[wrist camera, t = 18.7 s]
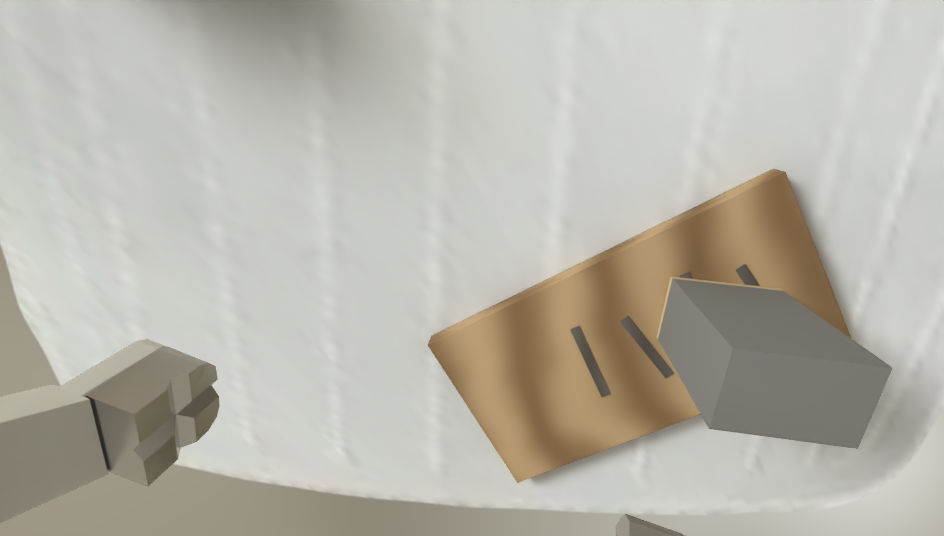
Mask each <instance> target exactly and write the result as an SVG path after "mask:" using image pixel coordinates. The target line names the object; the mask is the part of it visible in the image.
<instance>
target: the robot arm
mask: <svg viewBox="0 0 944 536" xmlns="http://www.w3.org/2000/svg"><path fill="white" fill-rule="evenodd" d="M216 380H217V373H216V366H214V365H212V364H210V363H207V362H205V361H202V360H200V359H197V358H195V357H192V356H190V355H187V354H185V353H182V352H180V351H177V350H175V349H172V348H170V347H167V346H164V345H161V344H159V343H156V342H154V341H151V340H148V339H146V340H140V341H136V342H134V343H133V344H131V345H129V346H127V347H126V348H124V349H122V350H121V351H119V352H117V353H116V354H114V355H112V356H111V357H109V358H107V359H106V360H104V361H102V362H100V363H99V364H97V365H95V366H94V367H92V368H90V369H89V370H87V371H85V372H84V373H82V374H80V375H79V376H77V377H75V378H73V379H72V380H70V381H68V382H67V383H65V384H63V385H62V386H60V387H59V386H56V385H48V386H44V387H40V388H35V389H31V390H27V391H23V392H18V393H14V394H10V395H6V396H2V397H0V523H1V522H4V521H6V520H8V519H10V518H12V517H15V516H17V515H19V514H21V513H23V512H26V511H28V510H30V509H32V508H34V507H37V506H39V505H41V504H43V503H46V502H48V501H50V500H52V499H54V498H57V497H59V496H61V495H63V494H66V493H68V492H70V491H72V490H74V489H77V488H79V487H81V486H83V485H85V484H88V483H90V482H92V481H94V480H97V479H99V478H101V477H103V476H105V475H107V474H108V471H109V472H111V473H114V474H116V475H119V476H122V477H124V478H127V479H130V480H132V481H135V482H137V483H140V484H142V485H145V486H149V485H150V484H151V483H152V482H154V481H155V480H156V479H157V478H158V477H159V476H160V475H161V474H162V473H163V472H164V471H165V470H167V469H168V468H169V467H170V466H171V465H172V464H173V463H174V462H175V461H176V460H177V459H178V456H179V452H180V448H181V447H184V446H186V445H189V444H192V443H195V442H197V441H198V440H199V439H200V438H201V437H202V436H203V435H204V434H205V433H206V432H207V431H208V430H209V428H210V427H211V425H212V423H213V422H214V420H215V419H216V417H217V413H218V409H219V396H218V394H217V393H216V391H215V390H214V388H213V387H212V384H213V383H214V382H215V381H216ZM616 536H684V535H683V534H681V533H678V532H676V531H673V530H670V529H667V528H664V527H661V526H658V525H656V524H652V523H650V522H647V521H644V520H641V519H638V518H636V517H633V516H630V515H627V514H624V515H623V516H622V517H621V518H620V520H619V522H618V523H617V525H616Z"/></svg>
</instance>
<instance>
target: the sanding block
mask: <svg viewBox="0 0 944 536" xmlns="http://www.w3.org/2000/svg"><path fill="white" fill-rule="evenodd" d="M656 337H657V339H658V340H659V342H660V344H661V346H662V347H663V349H664V351H665V353H666V354H667V356H668V358H669V360H670V361H671V363H672V365H673V367H674V368H675V370H676V372H677V374H678V375H679V377H680V379H681V380H682V382H683V384H684V386H685V387H686V389H687V391H688V393H689V394H690V396H691V398H692V400H693V401H694V403H695V405H696V407H697V408H698V410H699V412H700V414H701V415H702V417H703V419H704V421H705V422H706V424H707V426H708V427H709V429H715V430H722V431H730V432H737V433H744V434H752V435H759V436H767V437H774V438H782V439H789V440H797V441H804V442H812V443H819V444H827V445H834V446H842V447H849V448H856V449H858V447H859V444H860V442H861V440H862V437H863V435H864V433H865V430H866V428H867V426H868V423H869V421H870V419H871V416H872V414H873V412H874V409H875V407H876V405H877V403H878V400H879V398H880V396H881V393H882V391H883V389H884V386H885V384H886V382H887V379H888V377H889V375H890V372H891V370H892V367H890V366H889V365H888V364H886V363H885V362H883V361H882V360H880V359H879V358H878V357H876V356H875V355H873V354H872V353H871V352H869V351H868V350H866V349H865V348H863V347H862V346H861V345H859V344H858V343H856V342H855V341H854V340H852V339H851V338H849V337H848V336H846V335H845V334H844V333H842V332H841V331H839V330H838V329H837V328H835V327H834V326H832V325H831V324H829V323H828V322H827V321H825V320H824V319H822V318H821V317H819V316H818V315H817V314H815V313H814V312H812V311H811V310H810V309H808V308H807V307H805V306H804V305H802V304H801V303H800V302H798V301H797V300H795V299H794V298H793V297H791V296H790V295H788V294H787V293H785V292H784V291H783V290H781V289H779V288H770V287H761V286H752V285H743V284H734V283H725V282H716V281H707V280H698V279H689V278H680V277H670V281H669V285H668V290H667V294H666V298H665V302H664V307H663V311H662V315H661V319H660V324H659V328H658V332H657V336H656Z"/></svg>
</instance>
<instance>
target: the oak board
mask: <svg viewBox="0 0 944 536" xmlns="http://www.w3.org/2000/svg"><path fill="white" fill-rule="evenodd" d="M670 277H680V278H689V279H698V280H707V281H716V282H725V283H734V284H743V285H752V286H761V287H770V288H779V289H781V290H783V291H784V292H785V293H787V294H788V295H790V296H791V297H793V298H794V299H795V300H797V301H798V302H800V303H801V304H802V305H804V306H805V307H807V308H808V309H810V310H811V311H812V312H814V313H815V314H817V315H818V316H819V317H821V318H822V319H824V320H825V321H827V322H828V323H829V324H831V325H832V326H834V327H835V328H837V329H838V330H839V331H841V332H842V333H844V334H845V335H846V336H848V337H849V338H851V337H850V334H849V332H848V329H847V327H846V324H845V322H844V319H843V316H842V314H841V311H840V309H839V306H838V304H837V301H836V299H835V296H834V294H833V291H832V289H831V286H830V284H829V281H828V278H827V276H826V273H825V271H824V268H823V266H822V263H821V261H820V258H819V256H818V253H817V251H816V248H815V246H814V243H813V240H812V238H811V235H810V233H809V230H808V228H807V225H806V223H805V220H804V218H803V215H802V213H801V210H800V208H799V205H798V202H797V200H796V197H795V195H794V192H793V190H792V187H791V185H790V182H789V180H788V177H787V175H786V172H783V171H779V170H775V169H772V170H770V171H768V172H766V173H764V174H762V175H760V176H758V177H756V178H754V179H752V180H750V181H748V182H746V183H744V184H742V185H739V186H737V187H735V188H733V189H731V190H729V191H727V192H725V193H723V194H721V195H719V196H717V197H715V198H713V199H711V200H709V201H707V202H705V203H703V204H701V205H699V206H697V207H694V208H692V209H690V210H688V211H686V212H684V213H682V214H680V215H678V216H676V217H674V218H672V219H670V220H668V221H666V222H664V223H662V224H660V225H658V226H656V227H654V228H652V229H650V230H647V231H645V232H643V233H641V234H639V235H637V236H635V237H633V238H631V239H629V240H627V241H625V242H623V243H621V244H619V245H617V246H615V247H613V248H611V249H609V250H607V251H605V252H602V253H600V254H598V255H596V256H594V257H592V258H590V259H588V260H586V261H584V262H582V263H580V264H578V265H576V266H574V267H572V268H570V269H568V270H566V271H564V272H562V273H560V274H557V275H555V276H553V277H551V278H549V279H547V280H545V281H543V282H541V283H539V284H537V285H535V286H533V287H531V288H529V289H527V290H525V291H523V292H521V293H519V294H517V295H515V296H513V297H510V298H508V299H506V300H504V301H502V302H500V303H498V304H496V305H494V306H492V307H490V308H488V309H486V310H484V311H482V312H480V313H478V314H476V315H474V316H472V317H470V318H468V319H465V320H463V321H461V322H459V323H457V324H455V325H453V326H451V327H449V328H447V329H445V330H443V331H441V332H439V333H437V334H435V335H433V336H431V339H430V341H429V344H428V346H429V348H430V349H431V351H432V352H433V354H434V355H435V357H436V359H437V360H438V362H439V363H440V365H441V366H442V368H443V369H444V371H445V372H446V374H447V375H448V377H449V378H450V380H451V382H452V383H453V385H454V386H455V388H456V389H457V391H458V392H459V394H460V395H461V397H462V398H463V400H464V401H465V403H466V405H467V406H468V408H469V409H470V411H471V412H472V414H473V415H474V417H475V418H476V420H477V421H478V423H479V424H480V426H481V428H482V429H483V431H484V432H485V434H486V435H487V437H488V438H489V440H490V441H491V443H492V444H493V446H494V447H495V449H496V451H497V452H498V454H499V455H500V457H501V458H502V460H503V461H504V463H505V464H506V466H507V467H508V469H509V470H510V472H511V474H512V475H513V477H514V478H515V480H516V481H517V483H518V482H521V481H523V480H526V479H529V478H531V477H534V476H537V475H539V474H542V473H545V472H547V471H550V470H553V469H555V468H558V467H561V466H563V465H566V464H569V463H571V462H574V461H577V460H579V459H582V458H585V457H587V456H590V455H593V454H595V453H598V452H601V451H603V450H606V449H609V448H611V447H614V446H617V445H619V444H622V443H625V442H627V441H630V440H632V439H635V438H638V437H640V436H643V435H646V434H648V433H651V432H654V431H656V430H659V429H662V428H664V427H667V426H670V425H672V424H675V423H678V422H680V421H683V420H686V419H688V418H691V417H694V416H696V415H699V414H700V412H699V410H698V408H697V407H696V405H695V403H694V401H693V400H692V398H691V396H690V394H689V393H688V391H687V389H686V387H685V386H684V384H683V382H682V380H681V379H680V377H679V375H678V374H677V372H676V370H675V368H674V367H673V365H672V363H671V361H670V360H669V358H668V356H667V354H666V353H665V351H664V349H663V347H662V346H661V344H660V342H659V340H658V339H657V337H656V336H657V332H658V328H659V324H660V319H661V315H662V311H663V307H664V302H665V298H666V294H667V290H668V285H669V281H670Z"/></svg>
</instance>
